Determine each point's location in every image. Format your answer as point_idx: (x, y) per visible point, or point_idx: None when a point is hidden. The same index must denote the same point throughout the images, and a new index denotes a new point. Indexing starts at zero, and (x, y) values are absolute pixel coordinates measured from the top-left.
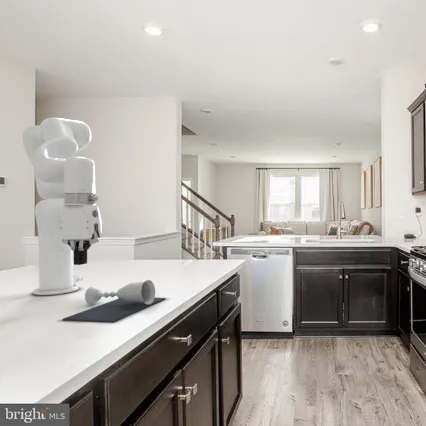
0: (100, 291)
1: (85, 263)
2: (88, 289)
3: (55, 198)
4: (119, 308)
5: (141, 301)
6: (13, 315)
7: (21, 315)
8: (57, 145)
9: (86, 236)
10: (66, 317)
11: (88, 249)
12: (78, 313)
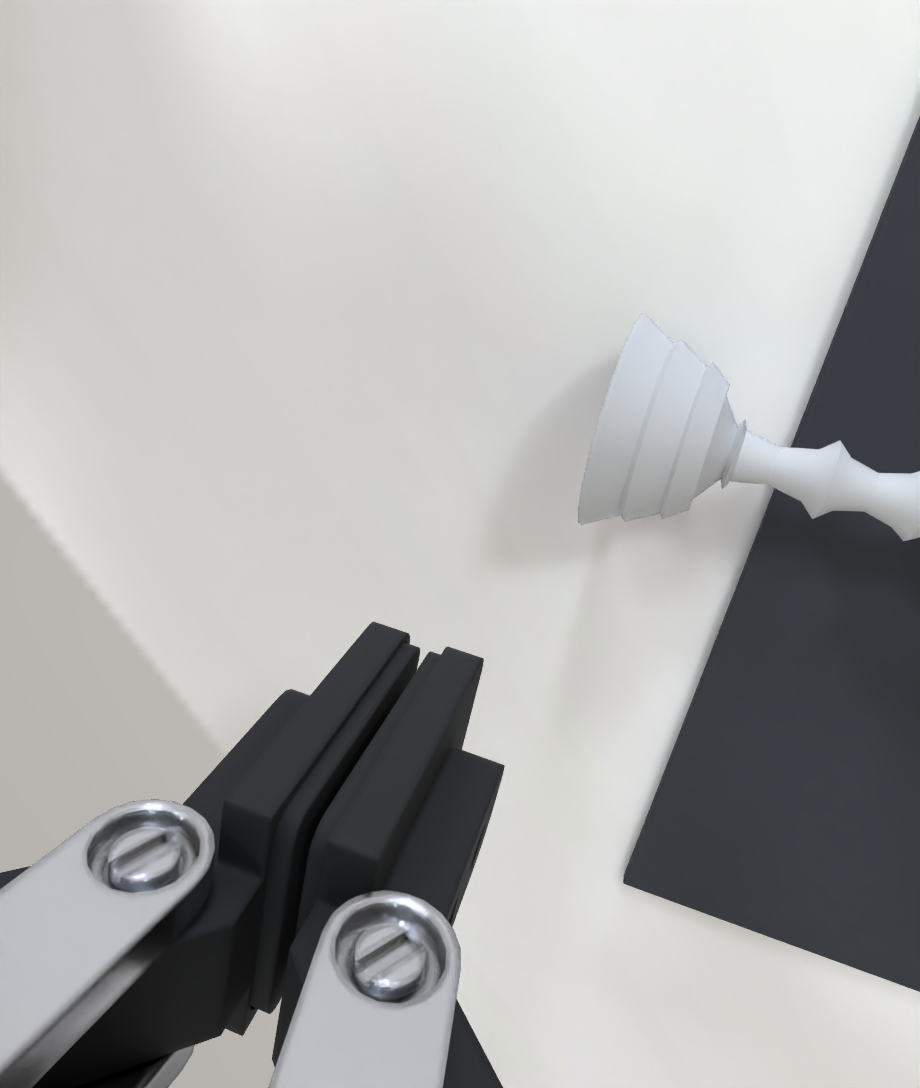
0: (720, 410)
1: (474, 688)
2: (592, 496)
3: None
4: None
5: None
6: (189, 655)
7: (243, 668)
8: None
9: None
10: (636, 859)
11: (447, 936)
12: (678, 773)
